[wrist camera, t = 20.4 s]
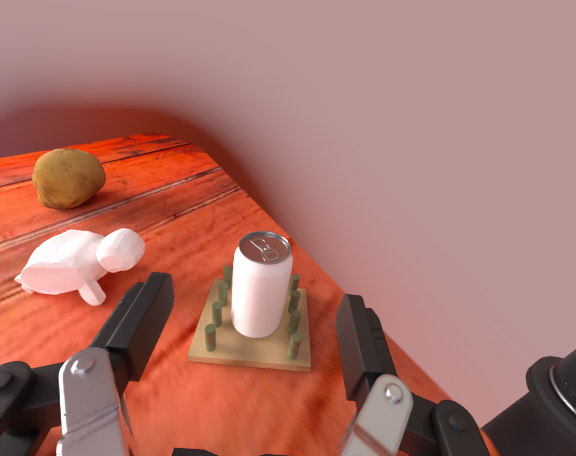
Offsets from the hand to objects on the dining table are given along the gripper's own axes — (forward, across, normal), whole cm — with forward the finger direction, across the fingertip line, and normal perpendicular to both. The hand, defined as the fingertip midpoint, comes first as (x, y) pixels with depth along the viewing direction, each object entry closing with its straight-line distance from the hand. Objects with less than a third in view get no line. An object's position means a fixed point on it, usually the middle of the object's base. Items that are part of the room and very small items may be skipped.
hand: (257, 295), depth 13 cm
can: (+14, 0, +20) cm, 24 cm away
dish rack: (+14, 0, +21) cm, 25 cm away
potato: (+38, +38, +21) cm, 58 cm away
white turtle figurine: (+18, +23, +21) cm, 36 cm away
